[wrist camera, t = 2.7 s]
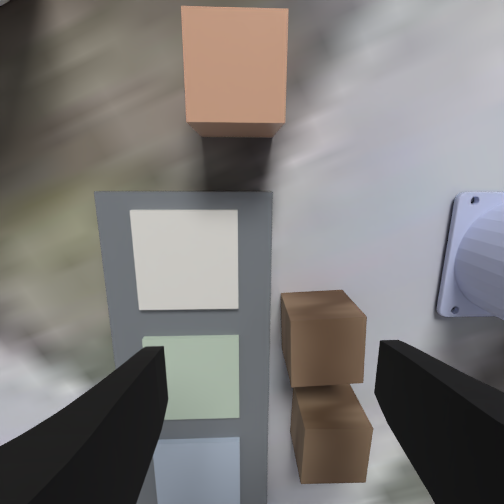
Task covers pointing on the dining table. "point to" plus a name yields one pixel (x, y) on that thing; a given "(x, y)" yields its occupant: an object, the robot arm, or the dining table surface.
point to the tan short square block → (235, 70)
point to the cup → (3, 2)
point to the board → (196, 331)
